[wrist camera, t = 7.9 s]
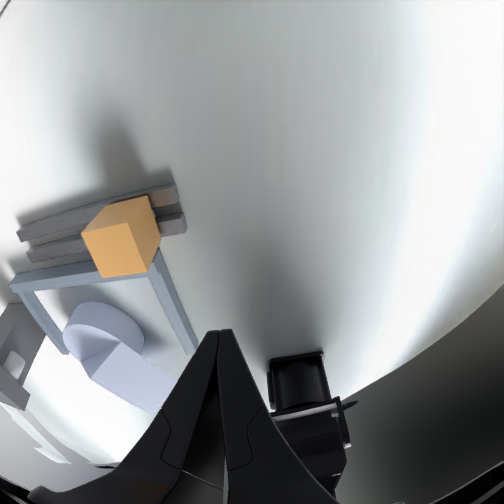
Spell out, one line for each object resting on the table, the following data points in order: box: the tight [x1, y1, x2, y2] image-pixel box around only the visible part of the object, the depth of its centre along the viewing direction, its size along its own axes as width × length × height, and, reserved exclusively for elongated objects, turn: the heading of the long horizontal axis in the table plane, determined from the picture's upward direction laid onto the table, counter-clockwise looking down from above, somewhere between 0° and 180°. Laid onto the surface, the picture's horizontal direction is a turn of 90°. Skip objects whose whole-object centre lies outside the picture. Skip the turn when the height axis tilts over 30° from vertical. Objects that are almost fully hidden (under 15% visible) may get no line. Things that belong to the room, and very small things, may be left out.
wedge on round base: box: [62, 301, 178, 415], centre depth 25 cm, size 9×7×13 cm
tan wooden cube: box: [81, 196, 161, 278], centre depth 17 cm, size 4×4×5 cm
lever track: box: [16, 183, 187, 263], centre depth 20 cm, size 17×4×1 cm, turn 98°
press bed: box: [0, 249, 199, 411], centre depth 20 cm, size 26×12×12 cm, turn 98°
